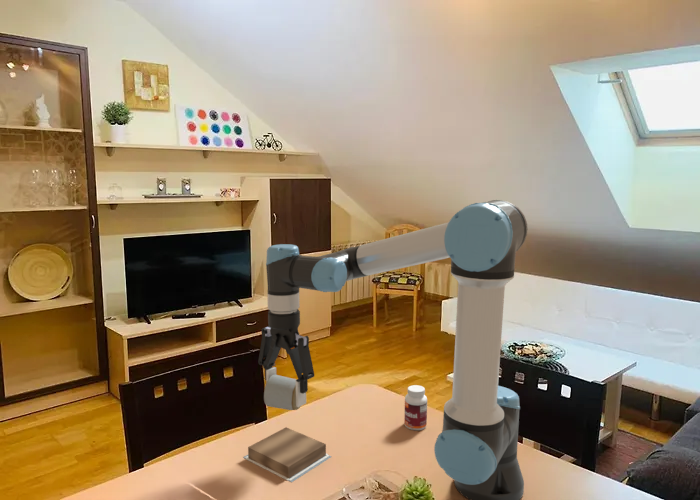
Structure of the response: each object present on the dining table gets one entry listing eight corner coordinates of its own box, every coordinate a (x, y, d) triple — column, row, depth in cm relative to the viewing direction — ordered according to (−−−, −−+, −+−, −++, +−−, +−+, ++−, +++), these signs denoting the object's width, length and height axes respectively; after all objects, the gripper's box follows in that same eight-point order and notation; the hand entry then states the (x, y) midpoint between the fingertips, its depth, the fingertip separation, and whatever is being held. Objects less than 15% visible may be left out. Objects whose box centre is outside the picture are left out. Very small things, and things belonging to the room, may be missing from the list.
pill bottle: (399, 425, 149) (400, 388, 147) (414, 418, 153) (414, 382, 152) (416, 433, 145) (417, 395, 143) (431, 426, 149) (432, 388, 147)
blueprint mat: (332, 457, 133) (332, 455, 133) (291, 483, 122) (291, 482, 122) (284, 436, 143) (283, 434, 143) (242, 458, 132) (242, 457, 132)
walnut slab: (325, 455, 133) (325, 444, 133) (288, 478, 123) (288, 466, 123) (286, 437, 142) (286, 427, 141) (248, 458, 132) (248, 447, 131)
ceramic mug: (294, 416, 125) (294, 385, 124) (263, 411, 128) (262, 380, 127) (312, 398, 135) (311, 369, 134) (282, 394, 138) (282, 365, 137)
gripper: (329, 314, 123) (330, 406, 126) (264, 299, 137) (266, 383, 140) (306, 321, 117) (308, 417, 120) (241, 305, 131) (244, 392, 134)
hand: (286, 399), depth 130 cm, fingers closed on ceramic mug, 9 cm apart
